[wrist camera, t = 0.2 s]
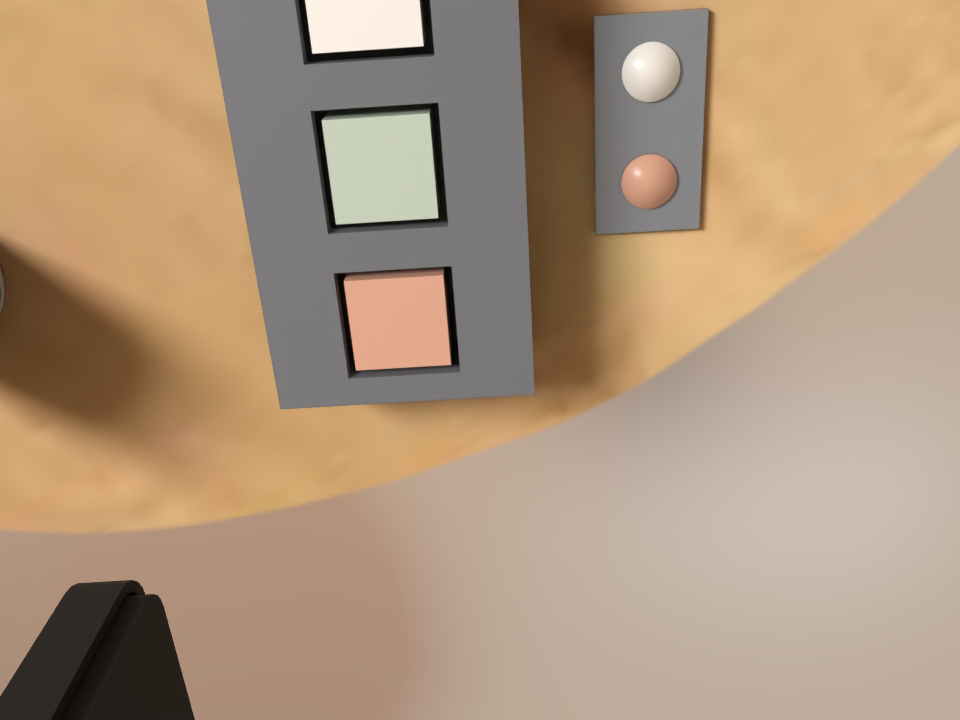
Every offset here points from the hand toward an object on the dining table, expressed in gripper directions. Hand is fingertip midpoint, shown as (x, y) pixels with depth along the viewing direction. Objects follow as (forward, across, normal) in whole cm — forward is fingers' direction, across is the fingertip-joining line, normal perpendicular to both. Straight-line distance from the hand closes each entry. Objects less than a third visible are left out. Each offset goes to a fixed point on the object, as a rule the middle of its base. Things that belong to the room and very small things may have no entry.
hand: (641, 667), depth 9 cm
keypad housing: (+36, +6, +2) cm, 37 cm away
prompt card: (+36, -6, +2) cm, 37 cm away
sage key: (+33, +6, +2) cm, 34 cm away
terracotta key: (+33, +6, +9) cm, 35 cm away
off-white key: (+33, +6, -5) cm, 34 cm away
